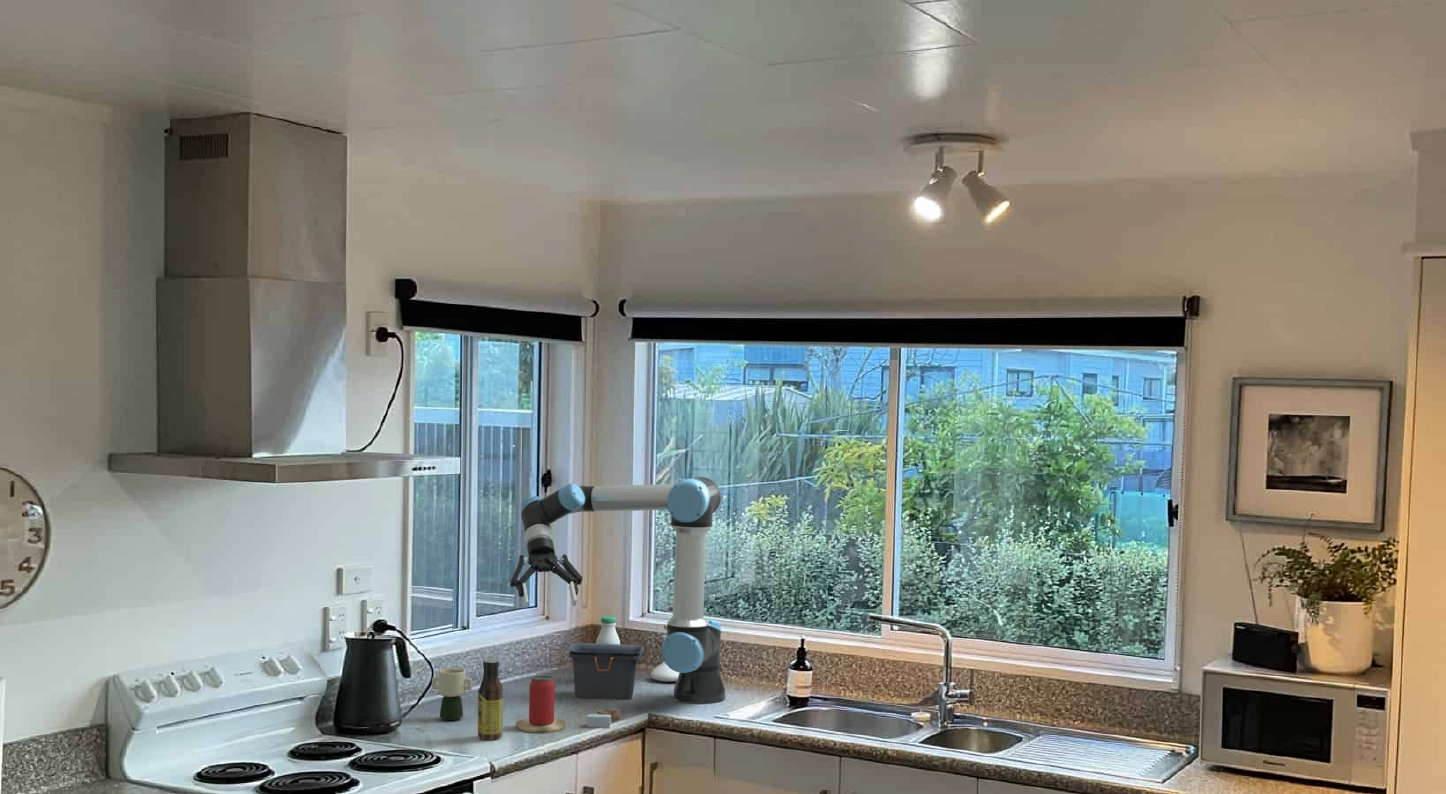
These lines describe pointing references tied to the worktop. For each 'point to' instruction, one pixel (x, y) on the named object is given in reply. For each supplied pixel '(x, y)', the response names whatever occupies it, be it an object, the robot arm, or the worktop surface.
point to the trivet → (528, 727)
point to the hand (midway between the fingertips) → (550, 604)
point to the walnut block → (611, 713)
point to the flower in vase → (664, 670)
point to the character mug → (451, 691)
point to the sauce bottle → (490, 702)
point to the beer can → (541, 700)
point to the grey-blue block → (599, 720)
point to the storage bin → (604, 669)
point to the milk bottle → (608, 631)
